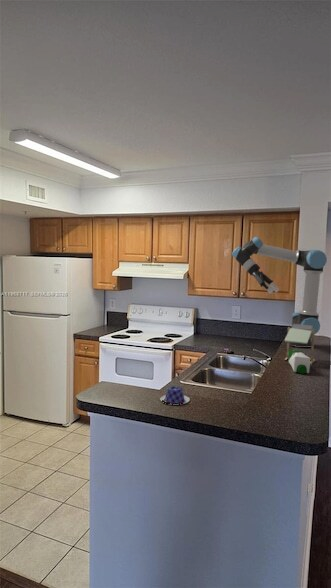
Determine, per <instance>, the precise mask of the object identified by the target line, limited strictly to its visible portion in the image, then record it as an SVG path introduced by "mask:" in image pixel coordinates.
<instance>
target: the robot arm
mask: <svg viewBox="0 0 331 588" xmlns="http://www.w3.org/2000/svg"><path fill="white" fill-rule="evenodd" d="M254 254H255V255H259V256H263V257H268V258H271V259H276V260H277V259H278V260H281V261H286V262H290V263H292V264H293V265H298V266H301V267H303V272H304V274H305V279H304V288H303V298H302V309H301V311H299V312H292V316H291V318H292V319H291V321H292V322H291V327H292V326H293V324H300V325H311V326H313V329H315V330H314V335H316V334H317V333H319V331H320V328H321V323H320V321H319V317H320V316H319V315H320V314H319V313H318V312H317V309H318V302H319V301H318V299H319V290H320V289H319V288H320V280H321V279H320V277H321V274H322V273H324V267H325V266H326V264H327V261H328V259H327V255H326V254H325V252H323V250H320V249H309V250H299V249H296V250H293V249H287V248H282V247H279V246H273V245H270V244H268V245H267V244H264V242H263V241H262V240H261V238H260V237H258V236H254V237H253V238H252V239H251V240H250V241H247V242H245V243H244V244H243V246H242V247H241V246H238V247H236V248H235V249H234V250H233V251H232V253H231V255H232V257H233V258H234V259H235V260H236V262H238V263H239V264H240V266H242V267H243V270H246V272H247V273H248V274H249V275H250V276H253V277H254V279H255V280H256V282H257V283H258V284H259V285H260V287H261V288H262V287H263V288H264V289H265V290H266V291H267V292H268V293H269V295H271V294H272V293H274V292H275V293H278V292H279V290H280V289H279V287H278V286H277V285H276V284H275V283H274V280H273V279H271V278H270V277H268V276H267V275H266V274H265V273H264V272H263V271H261V270H260V269H261V267H260V266H259V265H258V263H256V262H255V260H254V259H253V258H252V257H251V256H253V255H254ZM289 344H291V345H296V346H312V338H309V340H308V343H307V344H303V343H294V342H289Z"/></svg>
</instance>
